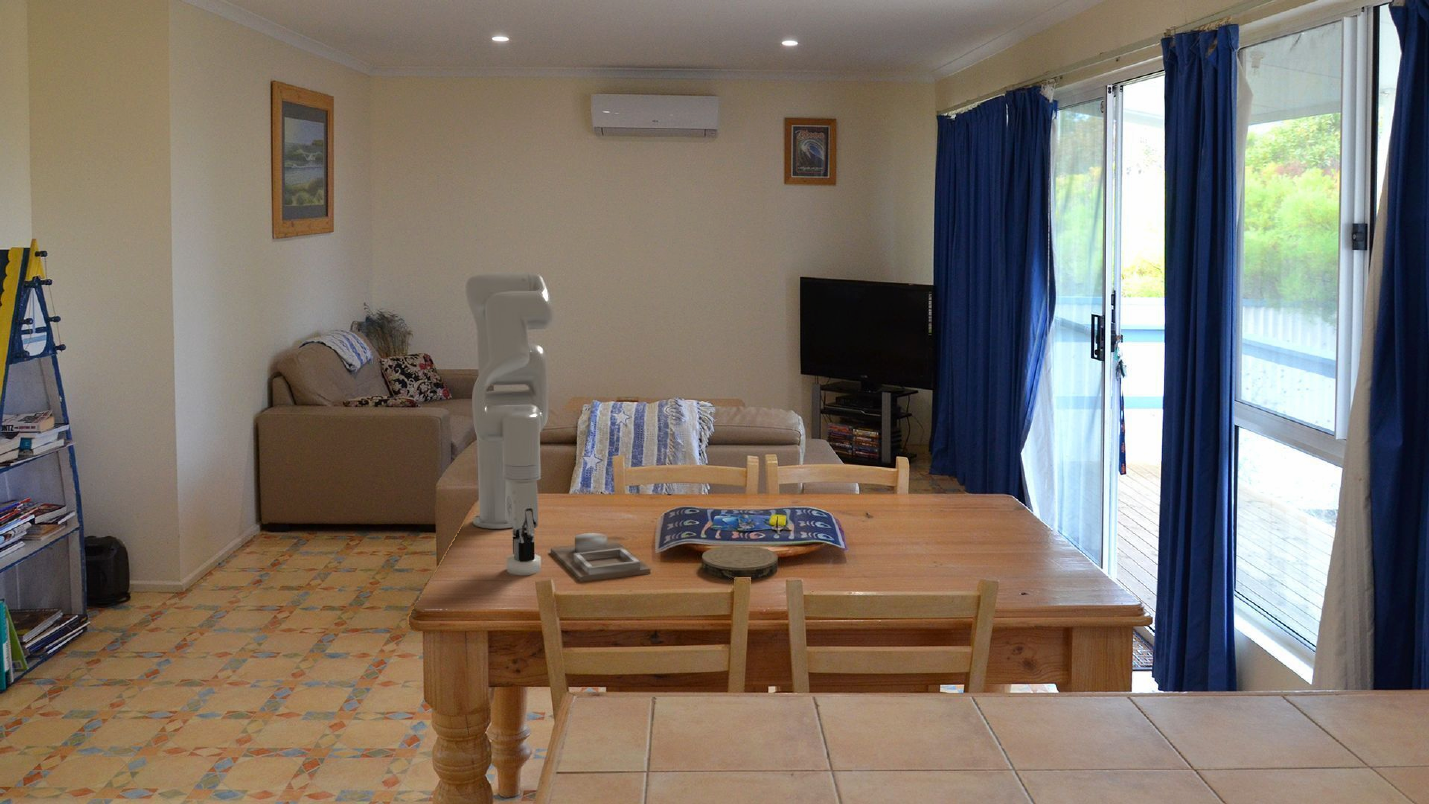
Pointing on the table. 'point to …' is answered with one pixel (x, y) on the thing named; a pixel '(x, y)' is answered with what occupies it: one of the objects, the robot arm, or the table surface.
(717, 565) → the grey brown round disc
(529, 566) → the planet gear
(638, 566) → the carrier board
